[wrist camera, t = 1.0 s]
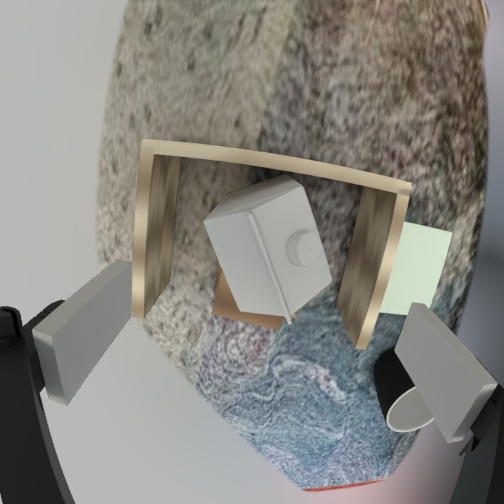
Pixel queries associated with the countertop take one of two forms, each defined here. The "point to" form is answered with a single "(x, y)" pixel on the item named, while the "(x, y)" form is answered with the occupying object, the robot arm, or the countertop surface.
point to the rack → (374, 186)
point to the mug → (399, 395)
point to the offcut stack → (229, 308)
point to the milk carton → (269, 247)
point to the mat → (415, 267)
